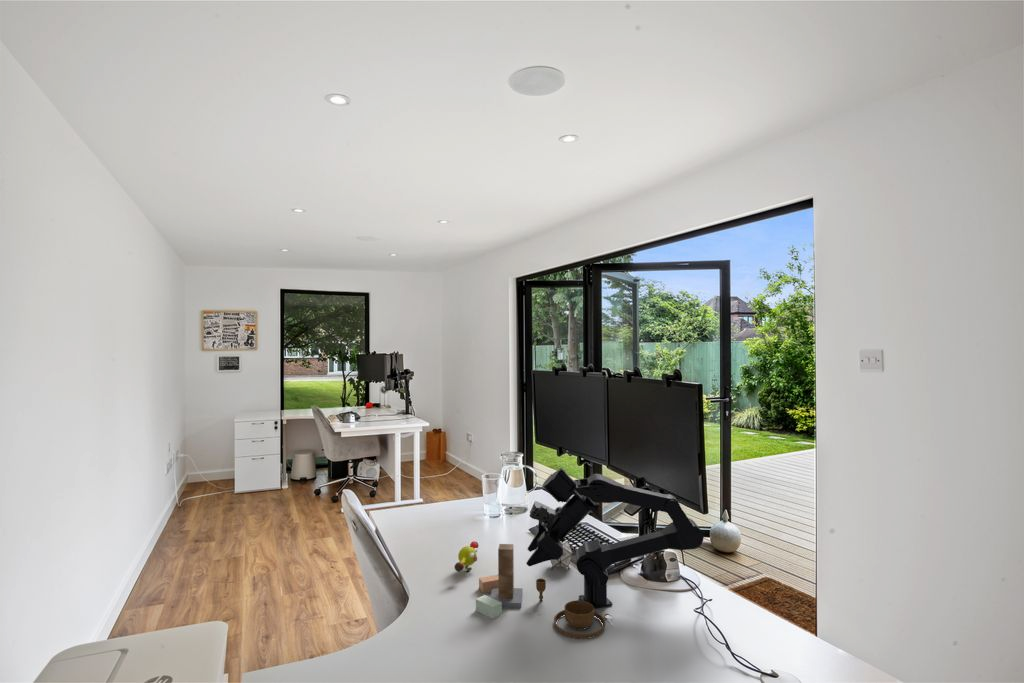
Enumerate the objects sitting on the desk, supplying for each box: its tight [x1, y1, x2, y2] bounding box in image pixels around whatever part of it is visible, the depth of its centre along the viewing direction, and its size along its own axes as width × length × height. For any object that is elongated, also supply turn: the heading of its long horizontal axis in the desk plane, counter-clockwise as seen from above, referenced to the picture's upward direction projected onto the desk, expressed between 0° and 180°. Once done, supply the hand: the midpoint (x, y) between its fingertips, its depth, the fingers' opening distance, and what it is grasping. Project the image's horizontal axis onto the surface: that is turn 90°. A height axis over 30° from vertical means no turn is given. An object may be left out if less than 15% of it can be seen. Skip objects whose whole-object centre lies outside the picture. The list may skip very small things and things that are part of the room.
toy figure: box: [454, 541, 479, 573], centre depth 160 cm, size 18×6×7 cm, turn 168°
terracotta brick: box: [478, 574, 498, 594], centre depth 148 cm, size 6×3×3 cm, turn 112°
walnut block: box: [497, 543, 515, 599], centre depth 142 cm, size 4×4×12 cm
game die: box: [550, 538, 576, 571], centre depth 162 cm, size 9×8×10 cm
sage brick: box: [475, 594, 503, 619], centre depth 136 cm, size 6×3×3 cm, turn 48°
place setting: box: [535, 578, 612, 639], centre depth 134 cm, size 18×20×6 cm
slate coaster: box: [489, 587, 524, 609], centre depth 142 cm, size 8×8×1 cm
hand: (528, 557), depth 142 cm, fingers open, 9 cm apart
